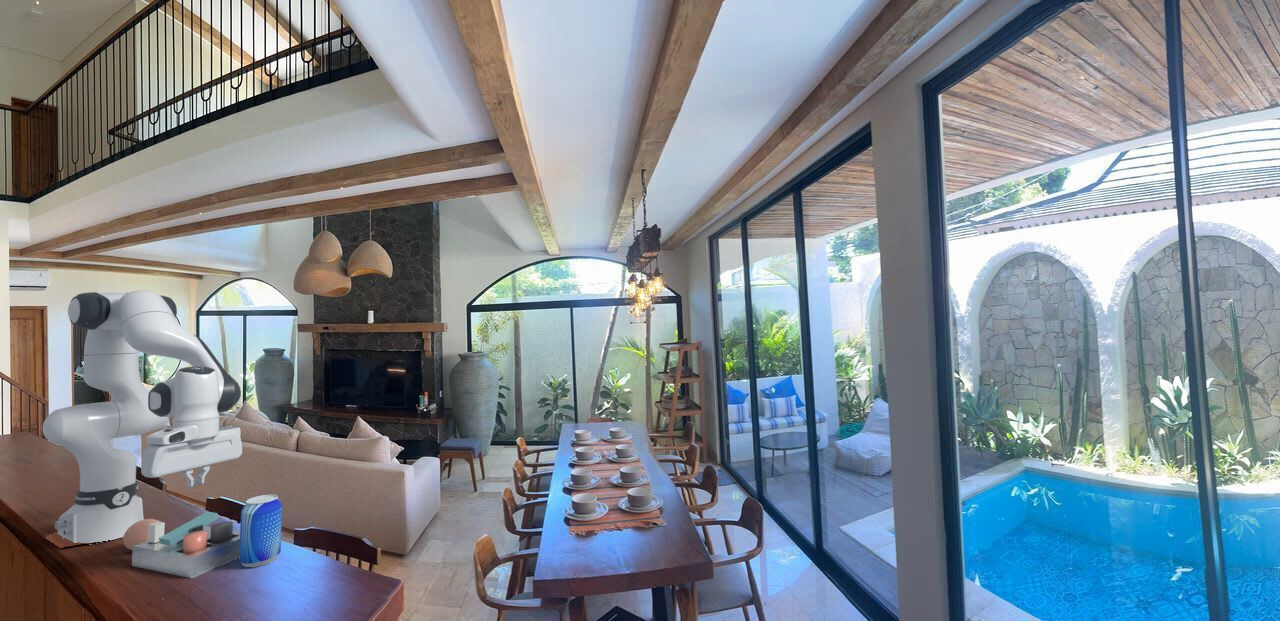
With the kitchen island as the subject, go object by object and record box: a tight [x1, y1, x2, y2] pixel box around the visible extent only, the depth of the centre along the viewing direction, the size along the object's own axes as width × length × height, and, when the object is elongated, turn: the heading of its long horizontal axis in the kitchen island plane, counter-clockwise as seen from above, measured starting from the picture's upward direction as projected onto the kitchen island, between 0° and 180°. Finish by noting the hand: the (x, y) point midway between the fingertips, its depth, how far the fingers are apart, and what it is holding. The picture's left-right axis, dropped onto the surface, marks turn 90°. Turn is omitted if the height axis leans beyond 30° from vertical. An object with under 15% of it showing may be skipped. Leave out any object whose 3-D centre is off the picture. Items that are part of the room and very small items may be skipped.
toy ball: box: [122, 518, 161, 551], centre depth 131 cm, size 8×8×8 cm
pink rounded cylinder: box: [183, 531, 207, 555], centre depth 121 cm, size 4×4×6 cm
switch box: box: [131, 523, 240, 579], centre depth 126 cm, size 22×14×8 cm, turn 74°
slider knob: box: [147, 521, 166, 543], centre depth 125 cm, size 3×2×4 cm
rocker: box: [159, 511, 220, 546], centre depth 126 cm, size 4×11×2 cm, turn 164°
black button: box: [210, 521, 234, 544], centre depth 127 cm, size 4×4×6 cm
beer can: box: [238, 494, 283, 568], centre depth 125 cm, size 8×8×16 cm
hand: (195, 485), depth 122 cm, fingers closed
